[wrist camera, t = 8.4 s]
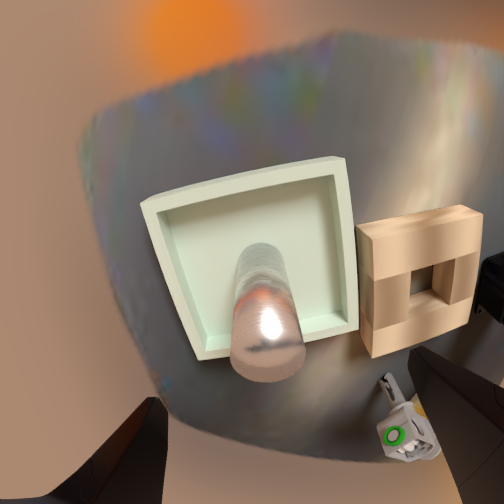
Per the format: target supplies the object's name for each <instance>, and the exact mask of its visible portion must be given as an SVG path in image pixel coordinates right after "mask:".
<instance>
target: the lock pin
mask: <svg viewBox="0 0 504 504" xmlns="http://www.w3.org/2000/svg"><path fill="white" fill-rule="evenodd" d="M305 358H306V348H305V344H304V340H303V336H302V332H301V328H300V323H299V319H298V315H297V311H296V307H295V303H294V299H293V295H292V291H291V288H290V284H289V280H288V276H287V272H286V268H285V264H284V261H283V257H282V254H281V253H280V251H279V250H278V249H277V248H276V247H274V246H273V245H271V244H268V243H254V244H252V245H250V246H248V247H246V248H245V249H244V250H243V251H242V253H241V254H240V257H239V260H238V270H237V281H236V292H235V302H234V314H233V325H232V336H231V348H230V361H231V364H232V366H233V368H234V369H235V370H236V372H237V373H239V374H240V375H241V376H243V377H245V378H247V379H249V380H252V381H256V382H276V381H280V380H283V379H286V378H288V377H290V376H292V375H293V374H294V373H296V372H297V371H298V370H299V369H300V368H301V366H302V365H303V363H304V361H305Z"/></svg>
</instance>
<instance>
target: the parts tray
mask: <svg viewBox="0 0 504 504" xmlns="http://www.w3.org/2000/svg"><path fill="white" fill-rule="evenodd" d="M140 205H141V208H142V211H143V215H144V218H145V221H146V224H147V227H148V231H149V234H150V237H151V240H152V243H153V246H154V249H155V252H156V255H157V258H158V260H159V263H160V266H161V269H162V272H163V274H164V277H165V280H166V283H167V285H168V288H169V291H170V293H171V296H172V299H173V301H174V304H175V306H176V309H177V311H178V314H179V316H180V319H181V321H182V324H183V326H184V328H185V331H186V333H187V336H188V338H189V340H190V343H191V345H192V347H193V350H194V352H195V354H196V356H197V359H198V360H206V359H214V358H221V357H228V356H230V348H231V336H232V325H233V314H234V302H235V292H236V281H237V270H238V260H239V257H240V254H241V253H242V251H243V250H244V249H245V248H246V247H248V246H250V245H252V244H254V243H268V244H271V245H273V246H274V247H276V248H277V249H278V250H279V251H280V253H281V254H282V257H283V261H284V264H285V268H286V272H287V276H288V280H289V284H290V288H291V291H292V295H293V299H294V303H295V307H296V311H297V315H298V319H299V323H300V328H301V332H302V336H303V340H304V343H305V342H310V341H314V340H318V339H323V338H327V337H331V336H335V335H339V334H343V333H347V332H351V331H355V330H358V329H359V316H358V282H357V264H356V249H355V237H354V226H353V216H352V207H351V199H350V191H349V184H348V176H347V170H346V163H345V158H340V157H335V156H329V157H322V158H316V159H310V160H304V161H299V162H293V163H288V164H282V165H277V166H272V167H267V168H262V169H257V170H252V171H248V172H243V173H238V174H234V175H230V176H225V177H221V178H217V179H213V180H209V181H204V182H200V183H197V184H193V185H189V186H185V187H181V188H177V189H174V190H170V191H166V192H163V193H159V194H156V195H153V196H151V197H149V198H148V199H146V200H145V201H143V202H141V203H140Z"/></svg>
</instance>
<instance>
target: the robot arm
mask: <svg viewBox="0 0 504 504" xmlns="http://www.w3.org/2000/svg"><path fill="white" fill-rule="evenodd" d="M484 312H488V313H489V314H490V315H491V316H492V317H494V318H495V319H496V320H497V321H498V322H499V323H500V324H501V323H502V324H503V325H504V252H501V253H499V254H496V255H493V256H491V257H488V258H486V259H485V261H484V263H483V270H482V276H481V282H480V288H479V293H478V298H477V303H476V308H475V314H477V315H480V314H482V313H484ZM408 370H409V373H410V376H411V379H412V381H413V384H414V387H415V390H416V392H417V395H418V398H419V401H420V403H421V406H422V408H423V410H424V412H425V414H426V416H427V418H428V420H429V423H430V425H431V427H432V429H433V431H434V433H435V436H436V438H437V440H438V442H439V445H440V447H441V449H442V451H443V454H444V456H445V458H446V461H447V463H448V466H449V468H450V470H451V473H452V476H453V478H454V481H455V483H456V486H457V488H458V492H459V494H460V497H461V500H462V503H463V504H504V388H502V387H500V386H498V385H496V384H493V383H492V382H490V381H488V380H487V379H485V378H483V377H481V376H479V375H477V374H475V373H473V372H472V371H470V370H468V369H466V368H464V367H462V366H460V365H458V364H457V363H455V362H453V361H451V360H449V359H447V358H445V357H443V356H442V355H440V354H438V353H436V352H434V351H432V350H430V349H428V348H427V347H425V346H423V345H418V346H415V347H413V348H411V350H410V353H409V359H408ZM167 450H168V411H167V409H166V408H165V406H164V405H163V403H162V402H161V400H160V399H159V398H158V397H147V398H146V399H145V400H144V401H143V402H142V403H141V404H140V405H139V406H138V408H137V409H136V410H135V411H134V412H133V413H132V414H131V415H130V416H129V417H128V418H127V419H126V420H125V421H124V422H123V424H121V426H120V427H119V428H118V429H117V430H116V431H115V432H114V433H113V434H112V435H111V436H110V437H109V438H108V439H107V440H106V441H105V442H104V444H102V446H101V447H100V448H99V449H98V450H97V451H96V452H95V453H94V454H93V455H92V456H91V457H90V458H89V459H88V460H87V461H86V462H85V463H84V464H83V465H82V466H81V467H80V468H79V469H78V470H77V471H76V472H75V473H73V474H72V475H71V476H70V477H69V478H68V479H66V480H65V481H64V482H63V483H61V484H60V485H59V486H58V487H57V488H56V489H54V490H53V491H52V492H50V493H48V494H46V495H44V496H41V497H35V498H23V499H0V504H162V494H163V485H164V476H165V467H166V459H167Z"/></svg>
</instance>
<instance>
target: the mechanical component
mask: <svg viewBox="0 0 504 504" xmlns="http://www.w3.org/2000/svg"><path fill="white" fill-rule="evenodd" d="M384 379H385V380H387V381H388V382H389V383H385V382H383V381H382V380H379V383H380V386H381V388H382V390H383V392H384V394H385V396H386V399H387V401H388V403H389V405H390V407H391V411H390V413H389V417H387V418H386V419H384V420H383V421H381V422H380V423H378V424H377V431H378V434H379V436H380V441H381V444H382V446H383V449H384V452H385V455H386V456H388V457H392V458H396V459H400V460H404V461H405V462H412V461H415V460H417V459H419V458H420V459H422V460H431V459H433V458H434V457H436V456H437V455H438V454H439V453H440V451H441V450H442V449H441V447H440V445H439V442H438V440H437V438H436V436H435V433H434V431H433V429H432V427H431V425H430V423H429V420H427V419H426V418H424V417H422V416H421V415H419V414H418V413H416V411H415V410H414V408H413V406H414V404H413V403H412V402H410V401H407V402H406V401H405V399H404V397H403V395H402V393H401V391H400V389H399V387H398V385H397V383H396V381H395V379H394V378H393V376H392V374H391V373H387V374H386V375H385V377H384ZM391 391H393V392H394V395H395V399H394V397H393V395H392V393H391ZM396 451H397V452H396Z"/></svg>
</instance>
